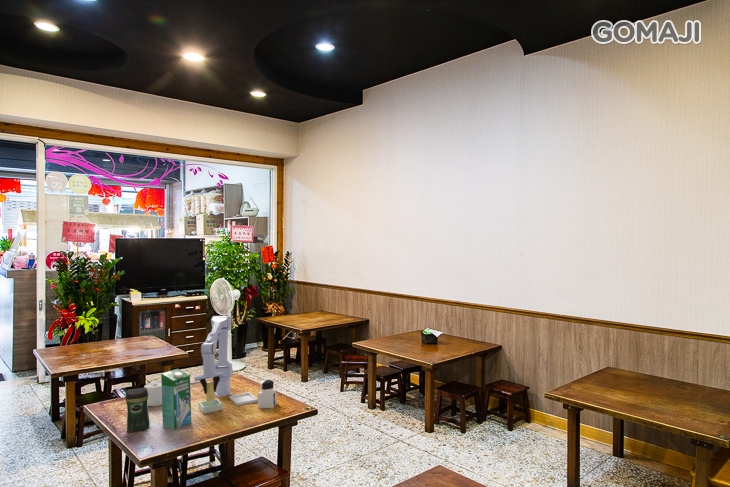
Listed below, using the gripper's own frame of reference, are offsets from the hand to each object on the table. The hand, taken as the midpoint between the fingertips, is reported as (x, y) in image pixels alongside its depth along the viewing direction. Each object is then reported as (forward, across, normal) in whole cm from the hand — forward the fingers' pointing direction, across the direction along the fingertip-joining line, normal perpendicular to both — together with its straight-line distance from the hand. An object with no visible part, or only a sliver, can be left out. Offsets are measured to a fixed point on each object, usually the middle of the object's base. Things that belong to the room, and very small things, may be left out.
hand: (210, 392), depth 240 cm
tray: (+9, +18, +3) cm, 20 cm away
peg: (+4, 0, 0) cm, 4 cm away
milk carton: (+9, -18, -11) cm, 23 cm away
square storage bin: (+9, 0, 0) cm, 9 cm away
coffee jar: (+9, -34, -5) cm, 36 cm away
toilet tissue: (+9, -22, +28) cm, 37 cm away
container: (+9, +26, -12) cm, 30 cm away
